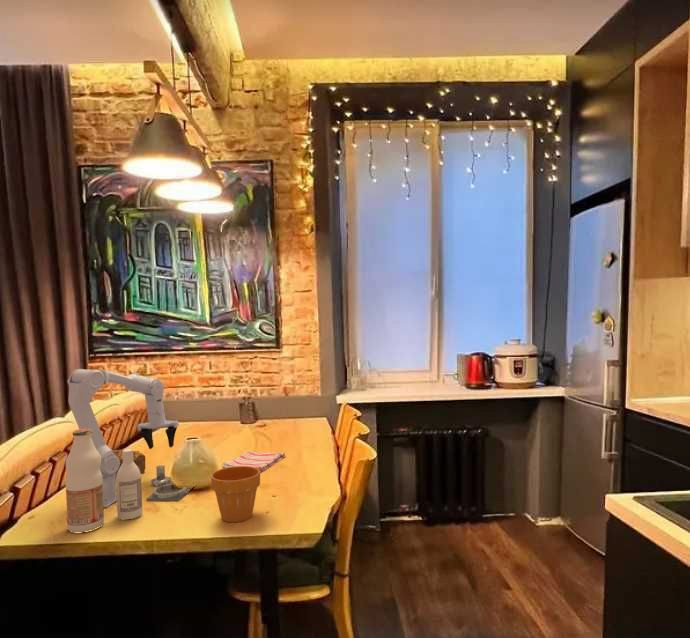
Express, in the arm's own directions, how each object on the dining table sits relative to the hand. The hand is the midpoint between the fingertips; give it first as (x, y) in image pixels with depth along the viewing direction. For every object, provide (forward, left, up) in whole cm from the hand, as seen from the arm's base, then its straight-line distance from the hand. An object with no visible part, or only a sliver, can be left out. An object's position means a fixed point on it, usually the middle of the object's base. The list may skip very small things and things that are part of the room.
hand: (161, 447), depth 189 cm
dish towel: (+21, -29, -13) cm, 38 cm away
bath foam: (-33, -5, -13) cm, 35 cm away
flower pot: (-33, -38, -13) cm, 52 cm away
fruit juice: (-41, +4, -13) cm, 43 cm away
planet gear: (-3, -1, -12) cm, 13 cm away
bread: (+5, +20, -13) cm, 24 cm away
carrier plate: (-13, -9, -12) cm, 20 cm away
